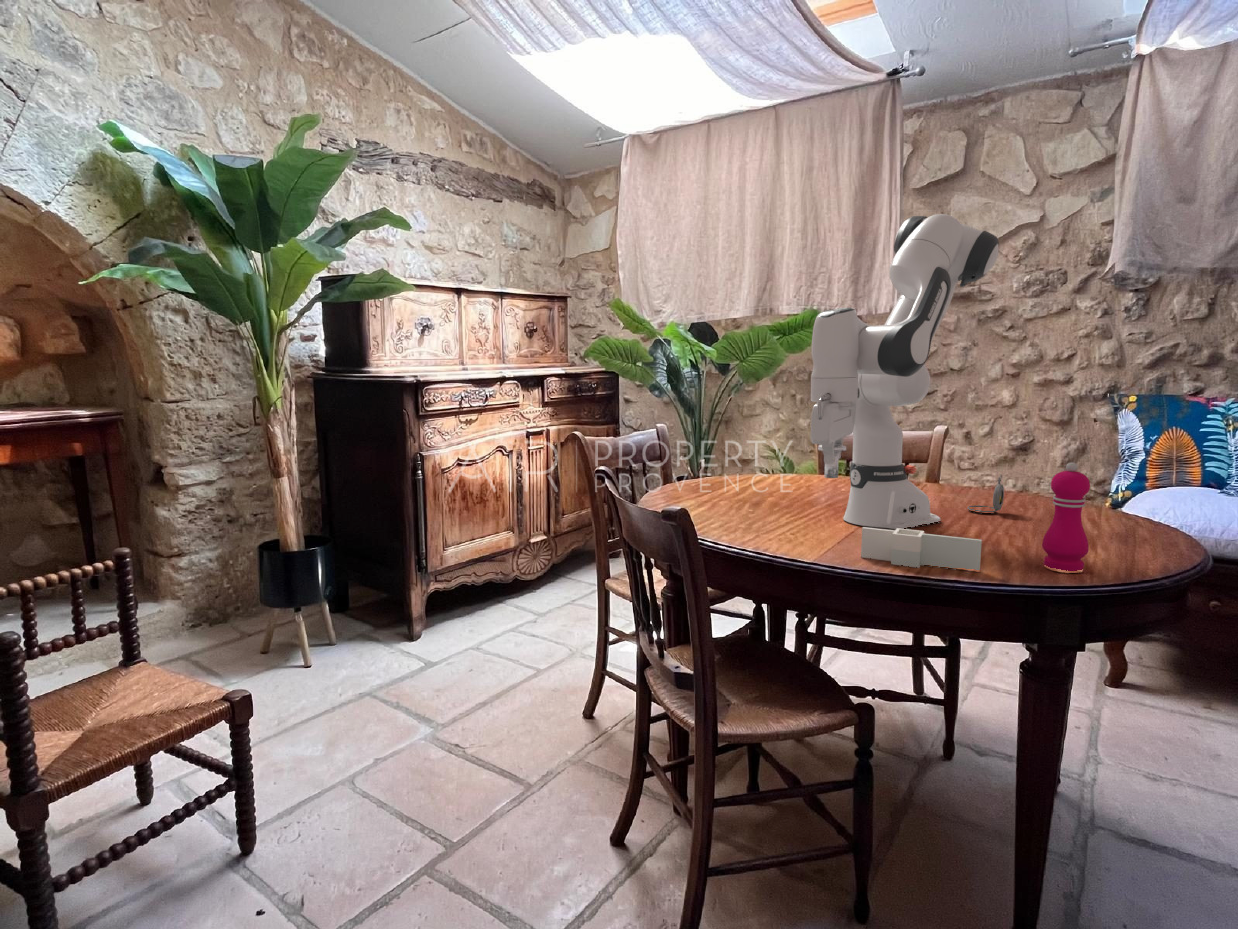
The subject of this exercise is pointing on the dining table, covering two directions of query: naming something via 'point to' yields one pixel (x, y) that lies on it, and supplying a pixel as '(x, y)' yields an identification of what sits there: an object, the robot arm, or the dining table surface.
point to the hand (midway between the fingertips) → (832, 461)
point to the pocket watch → (995, 498)
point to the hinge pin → (832, 469)
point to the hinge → (920, 548)
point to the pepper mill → (1067, 521)
